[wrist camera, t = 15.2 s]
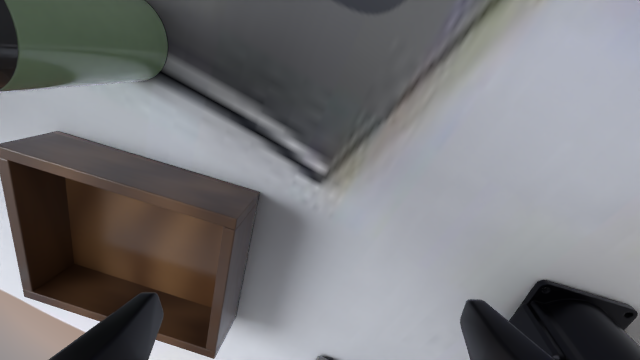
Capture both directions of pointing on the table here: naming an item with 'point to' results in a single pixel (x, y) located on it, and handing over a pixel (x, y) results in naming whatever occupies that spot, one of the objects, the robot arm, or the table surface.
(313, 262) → the table surface
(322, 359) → the tall grey upright box
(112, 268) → the tray
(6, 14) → the spice jar
